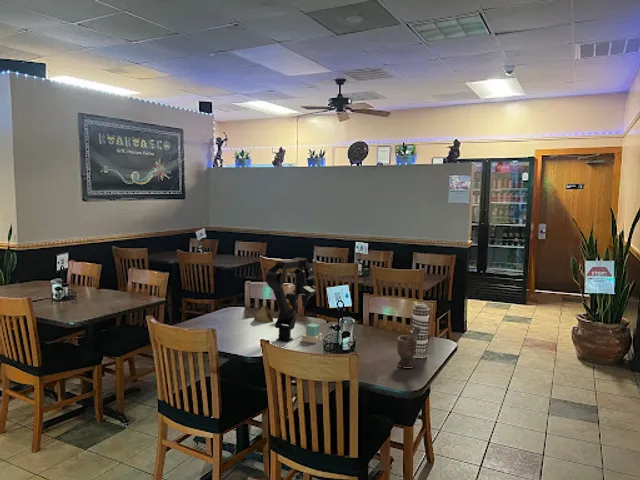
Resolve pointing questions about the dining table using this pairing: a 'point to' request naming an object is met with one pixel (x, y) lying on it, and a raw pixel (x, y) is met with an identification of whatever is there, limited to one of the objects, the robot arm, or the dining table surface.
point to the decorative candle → (421, 321)
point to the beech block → (311, 338)
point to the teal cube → (312, 329)
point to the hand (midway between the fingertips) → (299, 309)
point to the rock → (263, 315)
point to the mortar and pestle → (407, 348)
